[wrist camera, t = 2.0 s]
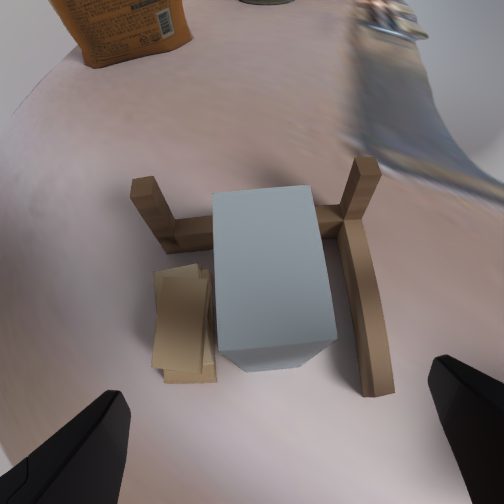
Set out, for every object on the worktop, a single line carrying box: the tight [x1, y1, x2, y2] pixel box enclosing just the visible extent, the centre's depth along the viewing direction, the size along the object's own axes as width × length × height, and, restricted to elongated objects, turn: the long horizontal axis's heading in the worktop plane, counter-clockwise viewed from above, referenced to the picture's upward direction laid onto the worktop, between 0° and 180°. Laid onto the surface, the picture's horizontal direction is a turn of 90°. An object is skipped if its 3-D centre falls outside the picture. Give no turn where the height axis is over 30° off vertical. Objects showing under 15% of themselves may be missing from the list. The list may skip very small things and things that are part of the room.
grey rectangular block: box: [212, 185, 338, 372], centre depth 14 cm, size 5×3×11 cm, turn 5°
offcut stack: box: [151, 263, 217, 384], centre depth 18 cm, size 7×4×3 cm, turn 5°
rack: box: [130, 157, 395, 397], centre depth 16 cm, size 12×13×7 cm
